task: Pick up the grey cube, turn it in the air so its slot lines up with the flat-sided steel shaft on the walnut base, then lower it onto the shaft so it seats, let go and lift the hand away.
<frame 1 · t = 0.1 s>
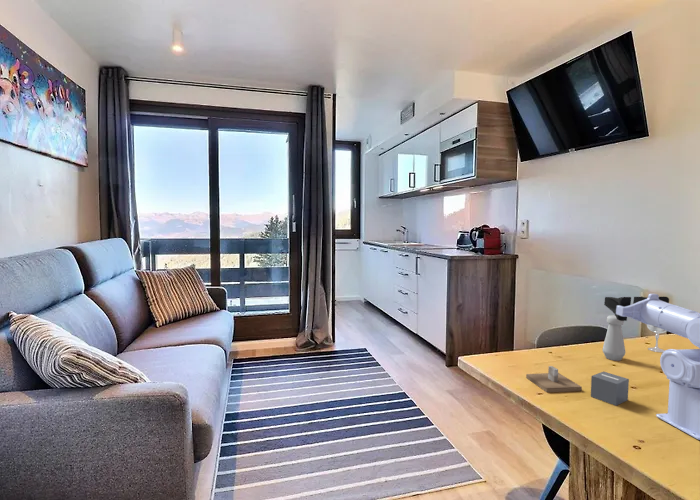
hand: (620, 300, 96), 22 cm above the table, tool horizontal, fingers open, 7 cm apart
salt shaker: (613, 359, 117), on the table
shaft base: (552, 384, 99), on the table
wineglass: (656, 350, 125), on the table
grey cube: (609, 398, 90), on the table
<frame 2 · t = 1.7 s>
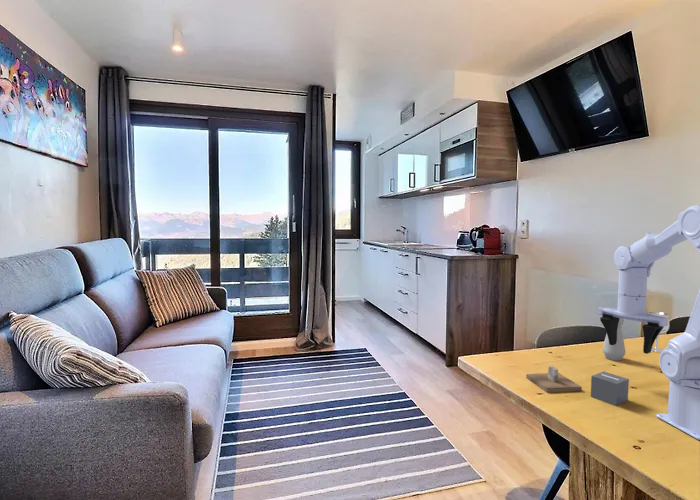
hand: (629, 348, 97), 9 cm above the table, tool pointing down, fingers open, 7 cm apart
nothing on the table moved.
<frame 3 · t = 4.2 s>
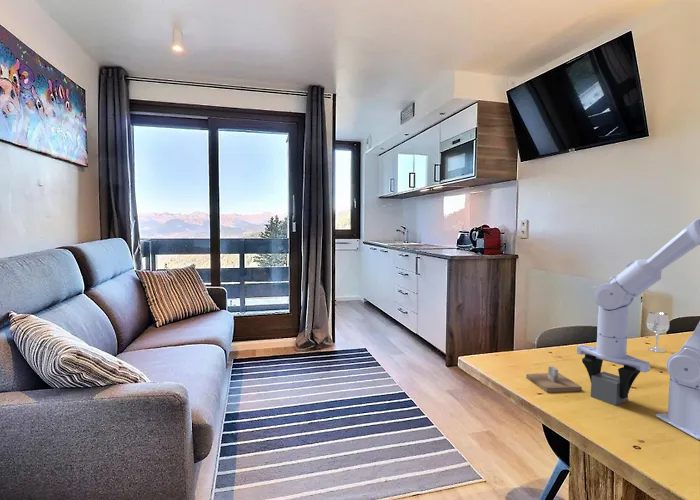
hand: (609, 392, 90), 1 cm above the table, tool pointing down, fingers closed on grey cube, 5 cm apart
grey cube: (609, 398, 90), on the table, touching gripper
everything else where it was.
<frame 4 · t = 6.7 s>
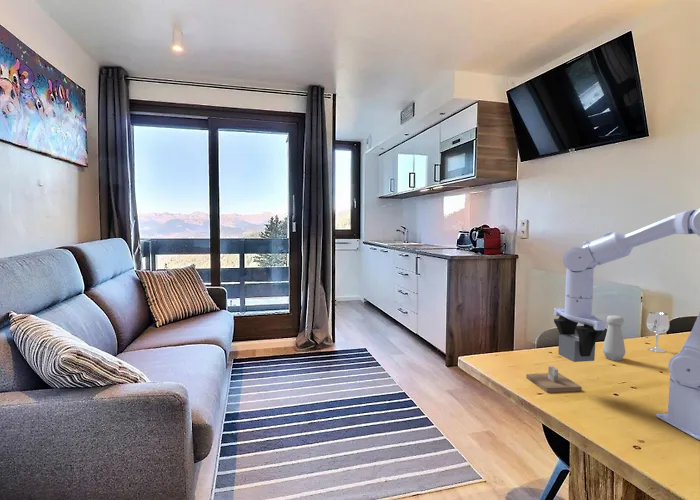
hand: (576, 351, 94), 10 cm above the table, tool pointing down, fingers closed on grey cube, 5 cm apart
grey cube: (575, 357, 95), point 8 cm above the table, touching gripper
everything else where it was.
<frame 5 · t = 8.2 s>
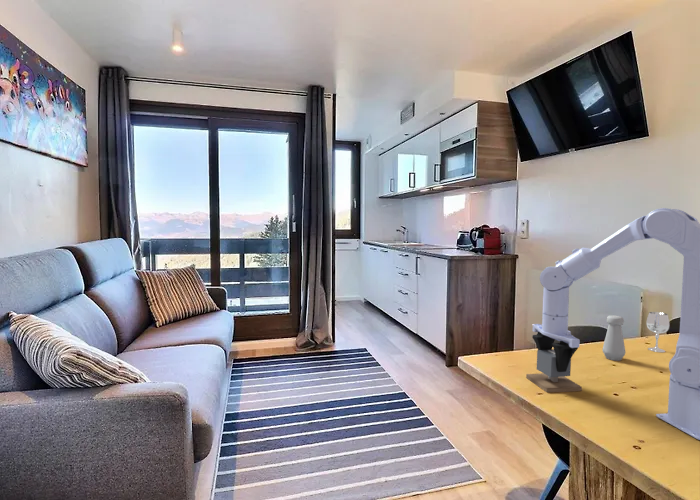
hand: (553, 367, 98), 4 cm above the table, tool pointing down, fingers closed on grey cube, 5 cm apart
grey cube: (553, 372, 98), point 3 cm above the table, touching gripper
everything else where it was.
when the fingers open (4 cm above the table, at t = 9.4 s): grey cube drops 1 cm, resting on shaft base.
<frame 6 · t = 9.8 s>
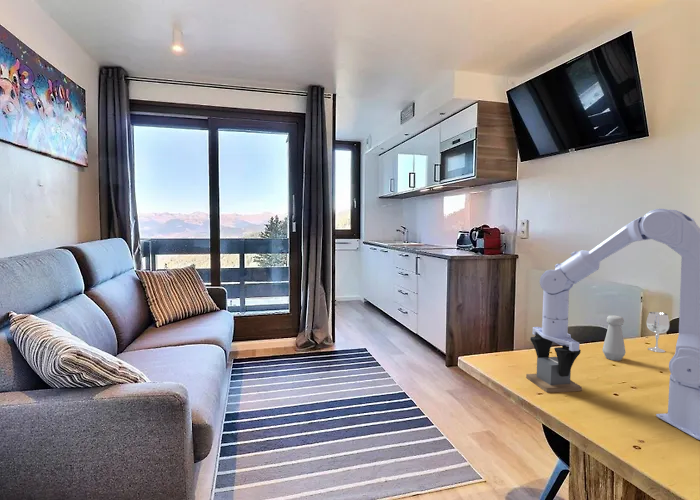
hand: (553, 370, 98), 4 cm above the table, tool pointing down, fingers open, 7 cm apart
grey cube: (553, 380, 98), point 1 cm above the table, touching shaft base
everything else where it was.
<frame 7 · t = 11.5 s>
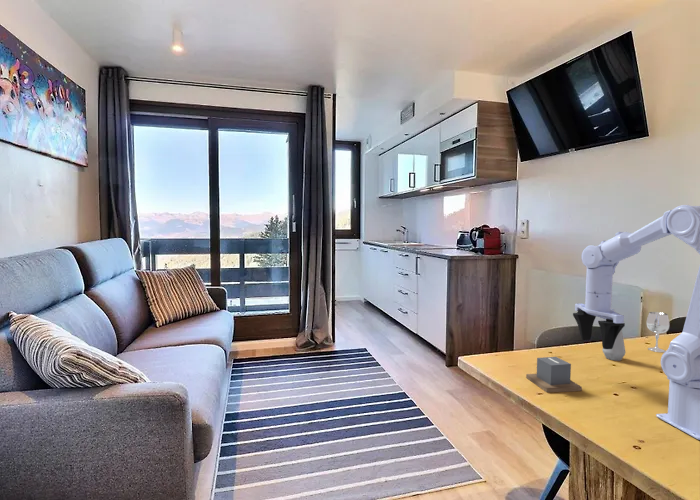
hand: (596, 344, 101), 9 cm above the table, tool pointing down, fingers open, 7 cm apart
nothing on the table moved.
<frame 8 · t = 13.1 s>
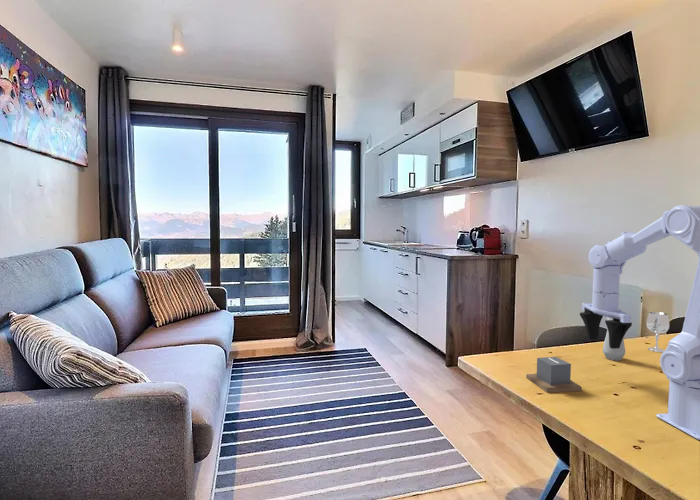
hand: (603, 343, 101), 9 cm above the table, tool pointing down, fingers open, 7 cm apart
nothing on the table moved.
at the end: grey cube 0.0 cm off-centre on the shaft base, point 1.0 cm above the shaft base's base; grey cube tilted 0°; the gripper is holding nothing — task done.
